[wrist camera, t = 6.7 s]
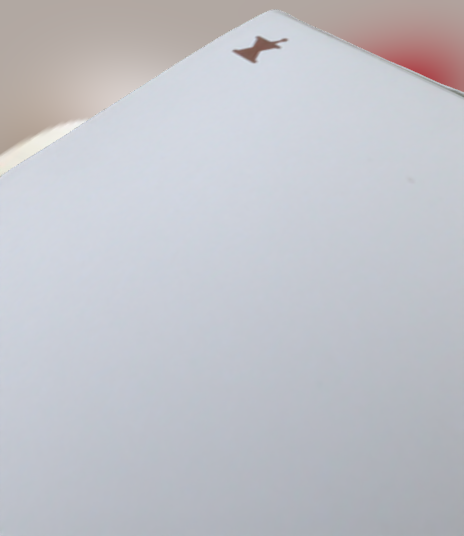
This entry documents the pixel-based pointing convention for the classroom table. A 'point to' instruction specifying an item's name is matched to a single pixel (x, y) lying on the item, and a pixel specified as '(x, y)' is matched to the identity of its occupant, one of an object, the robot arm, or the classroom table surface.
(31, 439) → the white packaging box
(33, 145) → the classroom table surface
